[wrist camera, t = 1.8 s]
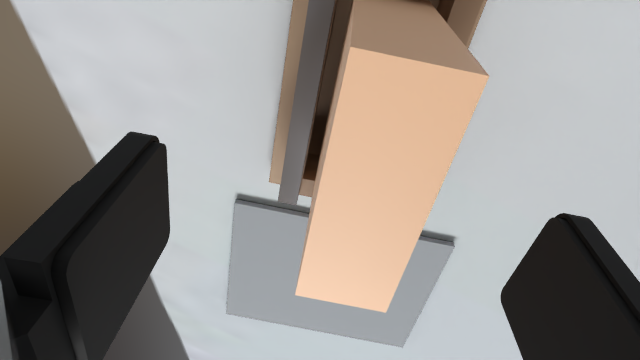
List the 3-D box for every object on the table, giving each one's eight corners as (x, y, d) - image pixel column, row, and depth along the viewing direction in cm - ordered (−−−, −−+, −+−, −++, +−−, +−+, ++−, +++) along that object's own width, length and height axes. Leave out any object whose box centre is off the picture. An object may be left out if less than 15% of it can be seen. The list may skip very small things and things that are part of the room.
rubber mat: (453, 242, 25) (454, 246, 25) (402, 343, 31) (402, 347, 31) (236, 199, 25) (234, 203, 24) (227, 309, 31) (226, 313, 31)
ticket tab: (425, -4, 17) (489, 76, 8) (376, 157, 21) (385, 312, 13) (355, -19, 17) (350, 46, 8) (321, 145, 21) (294, 295, 13)
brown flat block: (507, -75, 16) (551, -72, 12) (403, 199, 24) (411, 250, 20) (312, -118, 16) (296, -129, 12) (272, 172, 23) (255, 220, 20)
